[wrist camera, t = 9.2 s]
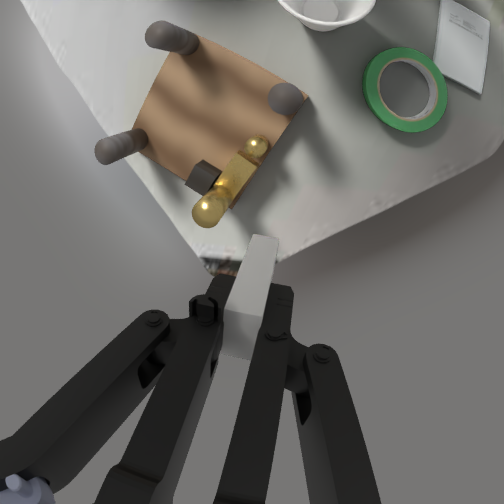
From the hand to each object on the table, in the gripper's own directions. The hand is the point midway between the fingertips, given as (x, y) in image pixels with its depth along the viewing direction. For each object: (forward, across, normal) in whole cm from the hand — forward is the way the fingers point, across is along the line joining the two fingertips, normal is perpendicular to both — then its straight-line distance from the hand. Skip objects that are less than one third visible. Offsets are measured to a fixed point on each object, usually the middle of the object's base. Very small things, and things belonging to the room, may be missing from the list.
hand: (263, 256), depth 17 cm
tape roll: (+25, +13, +13) cm, 31 cm away
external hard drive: (+25, +21, +23) cm, 40 cm away
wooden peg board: (+24, -11, +5) cm, 27 cm away
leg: (+22, -6, -1) cm, 22 cm away
